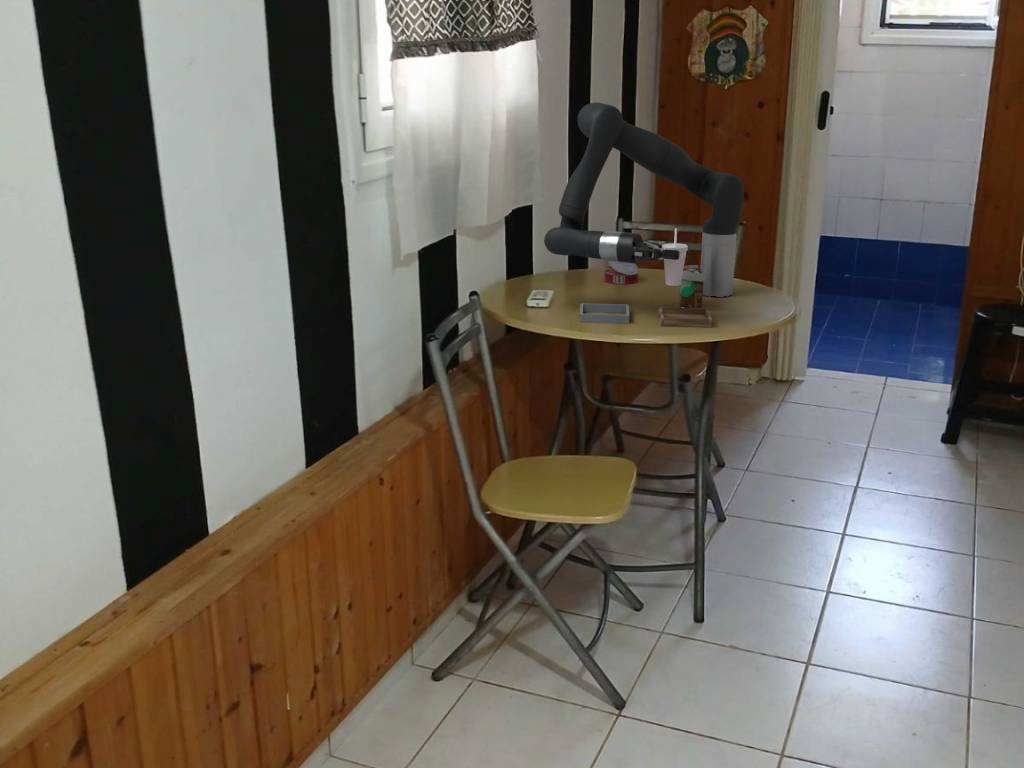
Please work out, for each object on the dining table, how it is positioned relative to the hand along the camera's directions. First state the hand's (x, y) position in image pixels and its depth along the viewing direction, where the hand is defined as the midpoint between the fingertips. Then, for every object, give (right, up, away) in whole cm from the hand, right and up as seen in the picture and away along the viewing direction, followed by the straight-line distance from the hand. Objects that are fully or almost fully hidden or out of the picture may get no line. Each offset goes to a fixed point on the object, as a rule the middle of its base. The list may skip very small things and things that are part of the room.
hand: (683, 253), depth 256 cm
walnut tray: (+1, -16, +6) cm, 17 cm away
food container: (+5, -12, +22) cm, 25 cm away
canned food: (-10, -2, +53) cm, 54 cm away
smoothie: (-2, -7, +4) cm, 9 cm away
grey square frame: (-19, -15, +9) cm, 26 cm away
